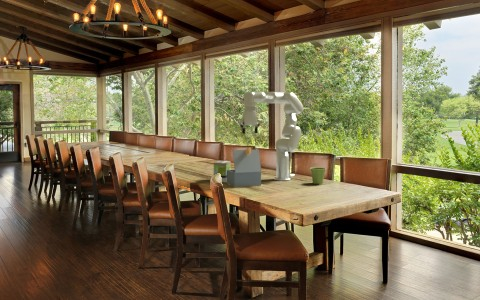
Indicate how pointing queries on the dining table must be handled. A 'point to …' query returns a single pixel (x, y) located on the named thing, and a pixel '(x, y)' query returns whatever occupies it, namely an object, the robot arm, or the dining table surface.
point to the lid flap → (246, 161)
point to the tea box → (222, 169)
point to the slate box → (243, 179)
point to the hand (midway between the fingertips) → (249, 133)
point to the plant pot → (317, 175)
